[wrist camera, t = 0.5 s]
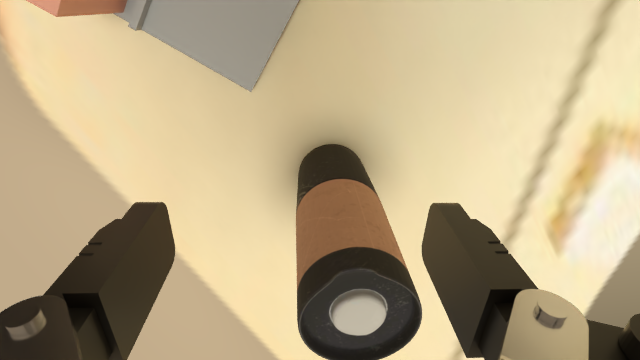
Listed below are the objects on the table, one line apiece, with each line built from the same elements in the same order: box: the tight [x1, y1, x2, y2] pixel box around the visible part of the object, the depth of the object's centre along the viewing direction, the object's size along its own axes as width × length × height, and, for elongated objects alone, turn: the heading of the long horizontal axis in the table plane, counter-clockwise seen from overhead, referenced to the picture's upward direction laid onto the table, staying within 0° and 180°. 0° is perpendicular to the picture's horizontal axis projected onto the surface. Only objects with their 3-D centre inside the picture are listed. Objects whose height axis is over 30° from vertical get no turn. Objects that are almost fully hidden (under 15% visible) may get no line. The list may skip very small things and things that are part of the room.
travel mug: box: [296, 145, 422, 360], centre depth 29 cm, size 8×8×20 cm
